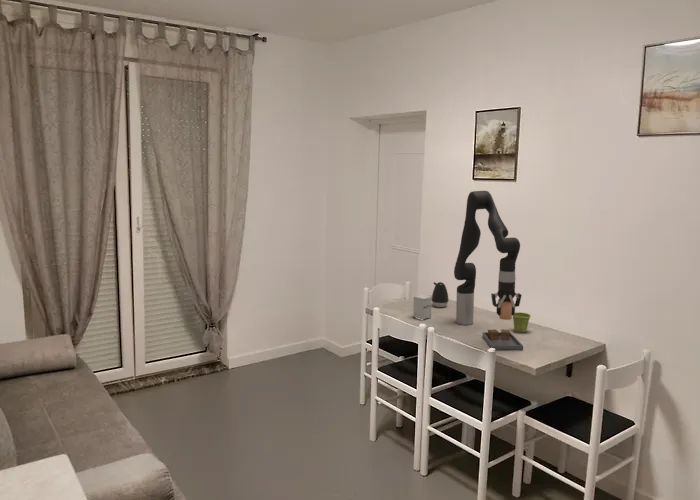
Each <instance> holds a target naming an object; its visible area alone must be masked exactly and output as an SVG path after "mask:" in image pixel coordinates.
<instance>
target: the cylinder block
mask: <svg viewBox="0 0 700 500" xmlns="http://www.w3.org/2000/svg"><path fill="white" fill-rule="evenodd" d="M500 308H501V312H500V316H499V315H498V316H499V317H498V318H499V319H500V320H502V321H503V320H506V321H507V320H508V321H510V320H512V319H513V316H512V303H511V302H508V301H505V302H503V303H502V304H501V306H500Z"/></svg>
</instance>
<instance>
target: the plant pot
mask: <svg viewBox="0 0 700 500" xmlns="http://www.w3.org/2000/svg"><path fill="white" fill-rule="evenodd" d="M531 317H532V316H531V314H529V313H527V312H520V311H519V312H518V311H517V312H516V311H515V314H514V315H512V319H513V321H512V322H513V330H514V331H515V332H516V333H519V334H520V333H526V332H527V331H528V327H529V321H530V318H531Z"/></svg>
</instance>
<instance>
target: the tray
mask: <svg viewBox="0 0 700 500" xmlns="http://www.w3.org/2000/svg"><path fill="white" fill-rule="evenodd" d="M498 332H499V340H490V339H489V338H488V331H487V332H486V331H485V332H482V334H481V335H482V338H483V340H484V341H485V342H486V343H487V344H488V346H489V347H490V348H491V347H492V348H495V349H496V350H495V351H524V345H523V344H522V343H521V341H519V340H518V338H517V337H515V335H513V334H512V332H511V331H510V340H501V331H498Z"/></svg>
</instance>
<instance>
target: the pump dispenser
mask: <svg viewBox="0 0 700 500" xmlns="http://www.w3.org/2000/svg"><path fill="white" fill-rule="evenodd" d="M433 285H434V288H433V291H432V295H431V297H432V299H431V304H432V305H433V306H434V307H435V306H436V308H439V307H442V308H445V307H446V306H447V305H448V303H449V293H448V290H447V286H446V284H445V283H444V282H441V281H439V282H433Z"/></svg>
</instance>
